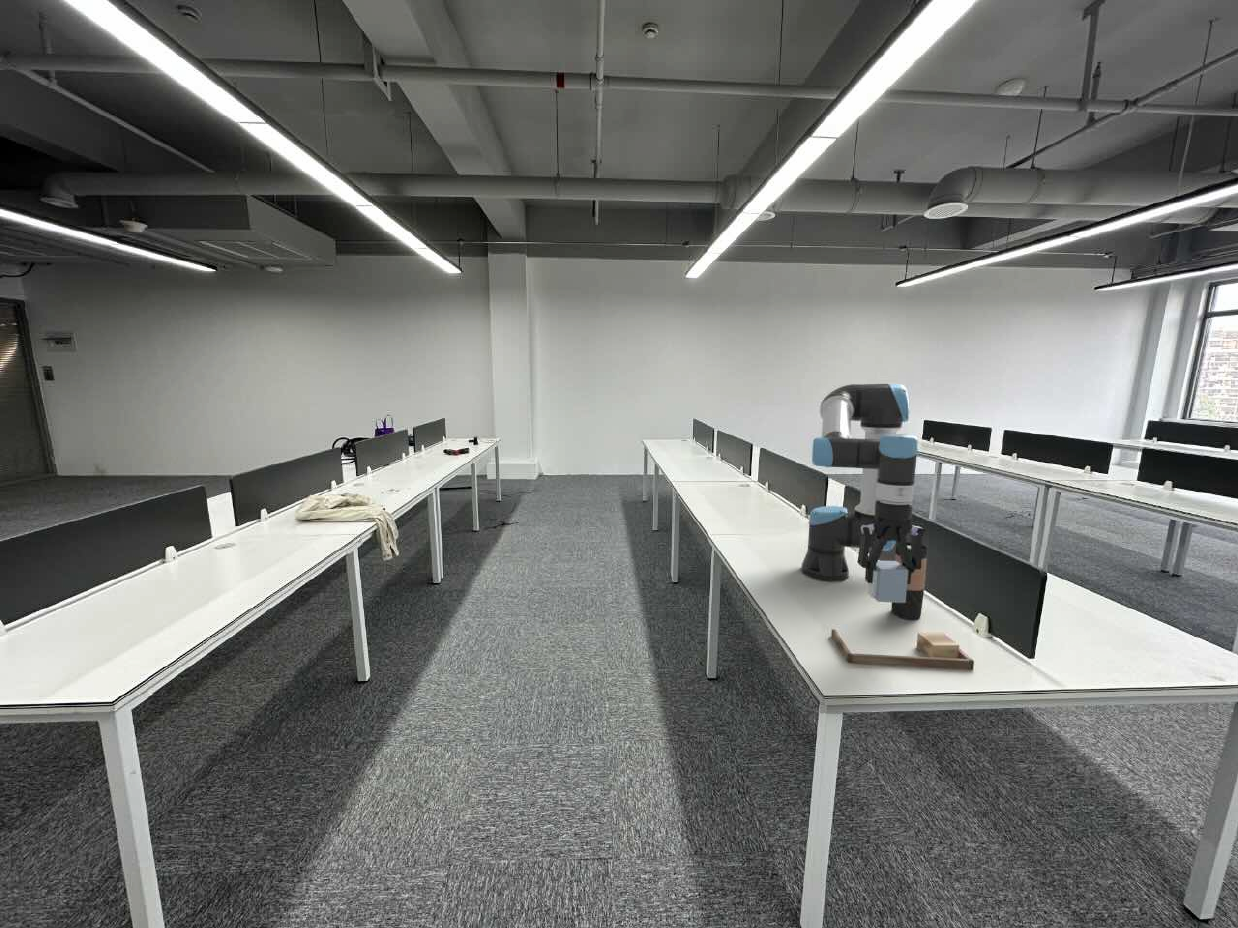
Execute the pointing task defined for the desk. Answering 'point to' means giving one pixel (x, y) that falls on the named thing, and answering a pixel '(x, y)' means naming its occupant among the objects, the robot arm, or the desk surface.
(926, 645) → the oak block
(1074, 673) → the desk surface
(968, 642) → the desk surface
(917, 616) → the travel mug
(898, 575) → the slate block
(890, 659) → the bay
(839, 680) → the desk surface
